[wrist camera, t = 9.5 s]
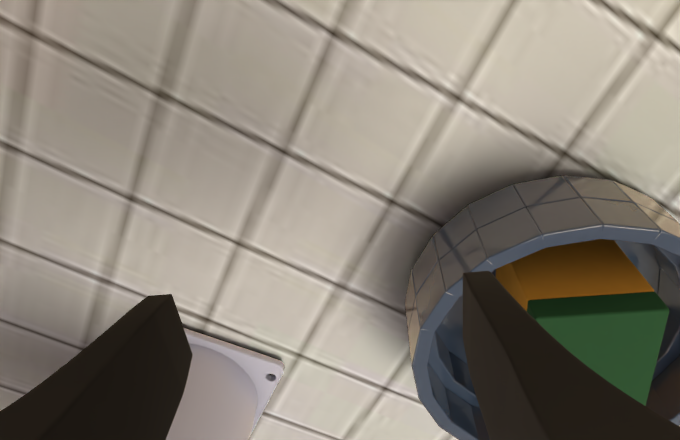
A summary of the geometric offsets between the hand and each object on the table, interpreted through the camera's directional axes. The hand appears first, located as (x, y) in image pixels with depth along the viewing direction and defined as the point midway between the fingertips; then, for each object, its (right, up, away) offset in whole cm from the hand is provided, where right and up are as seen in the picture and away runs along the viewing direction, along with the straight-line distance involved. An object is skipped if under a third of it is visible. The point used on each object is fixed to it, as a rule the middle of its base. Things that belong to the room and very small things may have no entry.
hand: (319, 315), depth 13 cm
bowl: (+10, -1, +11) cm, 15 cm away
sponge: (+10, -1, +10) cm, 14 cm away
